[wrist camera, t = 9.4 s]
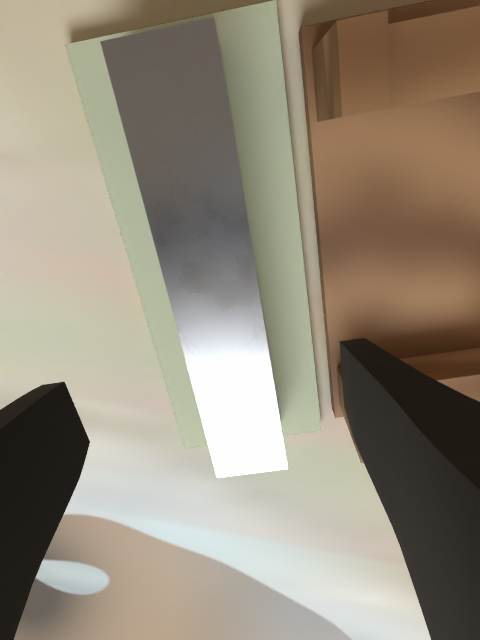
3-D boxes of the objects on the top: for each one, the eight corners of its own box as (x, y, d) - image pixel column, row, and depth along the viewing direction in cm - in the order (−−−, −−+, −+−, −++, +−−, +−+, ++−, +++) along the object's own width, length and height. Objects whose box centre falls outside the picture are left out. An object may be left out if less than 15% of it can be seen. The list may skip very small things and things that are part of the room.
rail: (281, 421, 22) (288, 469, 19) (220, 430, 22) (216, 477, 19) (220, 43, 15) (214, 16, 12) (129, 61, 15) (100, 41, 12)
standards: (483, 388, 22) (546, 453, 17) (332, 408, 23) (355, 476, 18) (525, -15, 15) (655, -84, 10) (298, 32, 15) (323, -14, 11)
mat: (319, 424, 23) (321, 431, 22) (186, 442, 24) (184, 449, 23) (274, 4, 15) (275, -1, 14) (70, 47, 15) (64, 44, 15)
